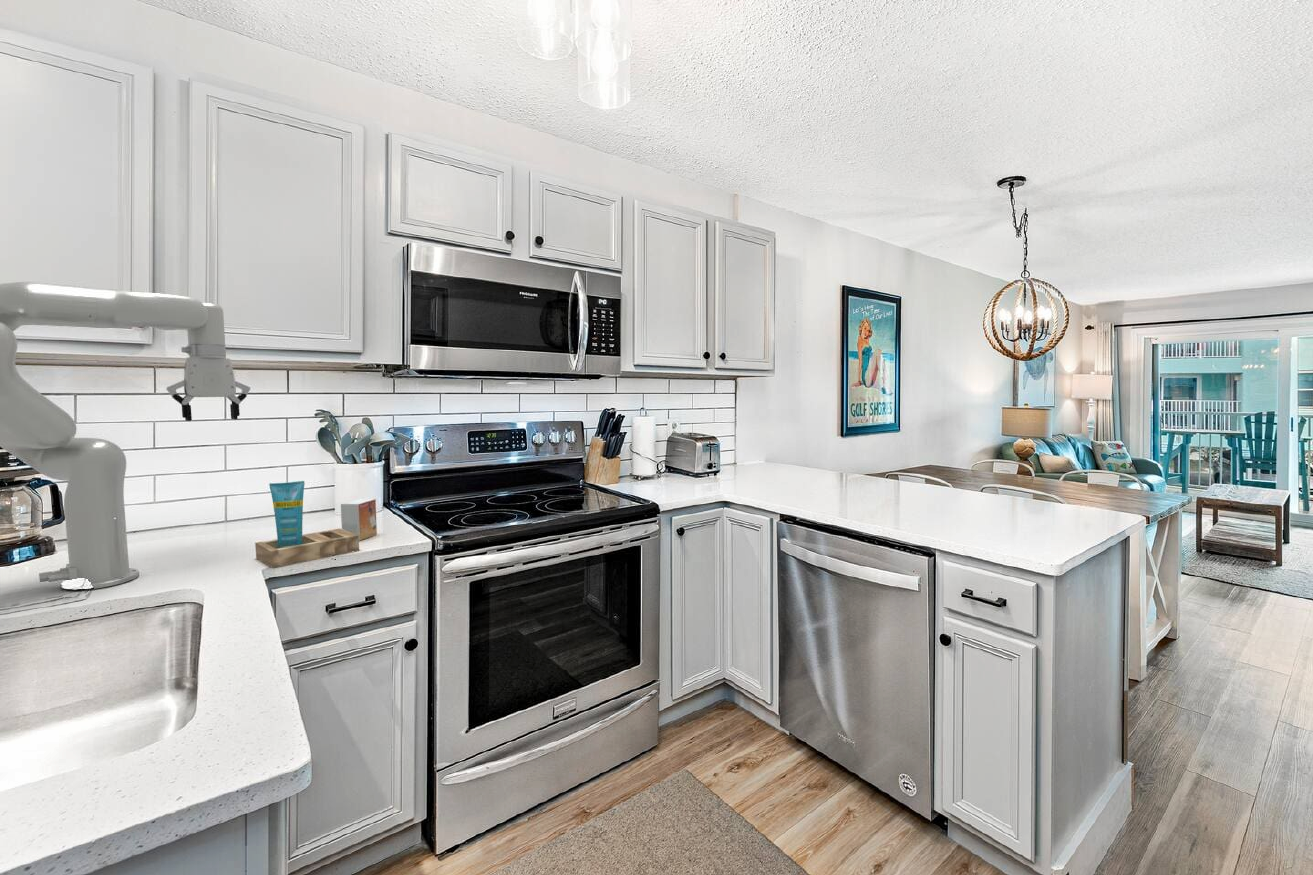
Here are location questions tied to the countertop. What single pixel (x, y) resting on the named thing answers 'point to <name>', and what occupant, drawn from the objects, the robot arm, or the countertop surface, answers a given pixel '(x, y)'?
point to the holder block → (307, 548)
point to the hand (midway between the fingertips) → (212, 419)
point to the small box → (359, 517)
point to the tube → (288, 512)
